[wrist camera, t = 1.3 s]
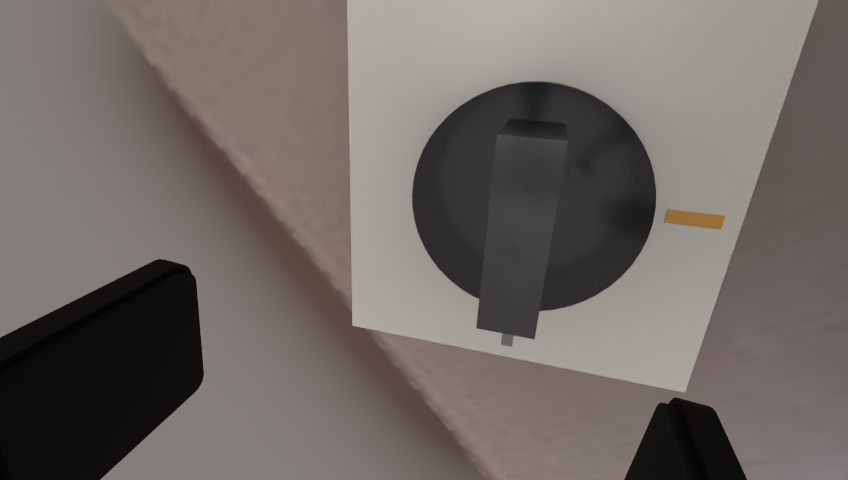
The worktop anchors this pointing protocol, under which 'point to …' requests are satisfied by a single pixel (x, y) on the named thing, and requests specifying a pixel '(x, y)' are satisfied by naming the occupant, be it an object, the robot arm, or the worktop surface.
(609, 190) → the dial
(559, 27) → the dial plate
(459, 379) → the worktop surface
